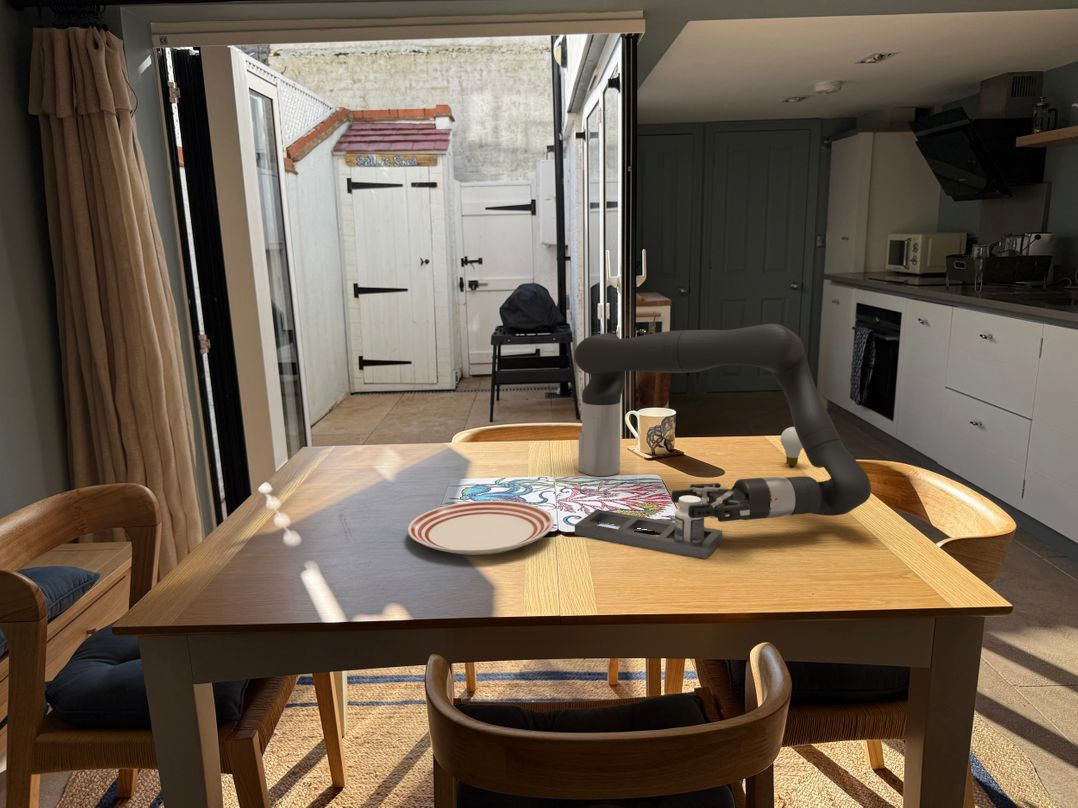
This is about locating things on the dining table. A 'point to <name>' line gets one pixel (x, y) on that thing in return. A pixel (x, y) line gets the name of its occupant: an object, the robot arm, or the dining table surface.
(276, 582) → the dining table surface
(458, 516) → the dinner plate
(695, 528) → the pill bottle
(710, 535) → the compartment tray
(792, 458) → the light bulb
